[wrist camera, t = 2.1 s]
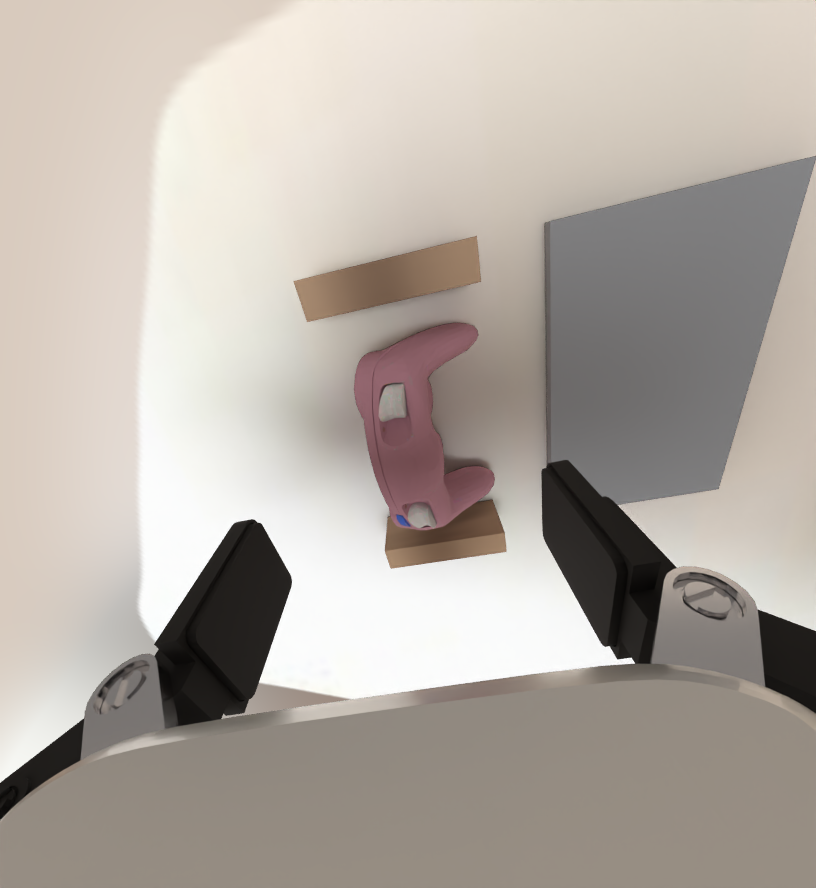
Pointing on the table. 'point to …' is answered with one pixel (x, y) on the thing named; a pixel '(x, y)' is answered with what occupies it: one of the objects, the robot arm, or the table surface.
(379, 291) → the dock
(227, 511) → the table surface
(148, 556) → the table surface
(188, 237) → the table surface
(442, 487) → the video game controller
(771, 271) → the mat
